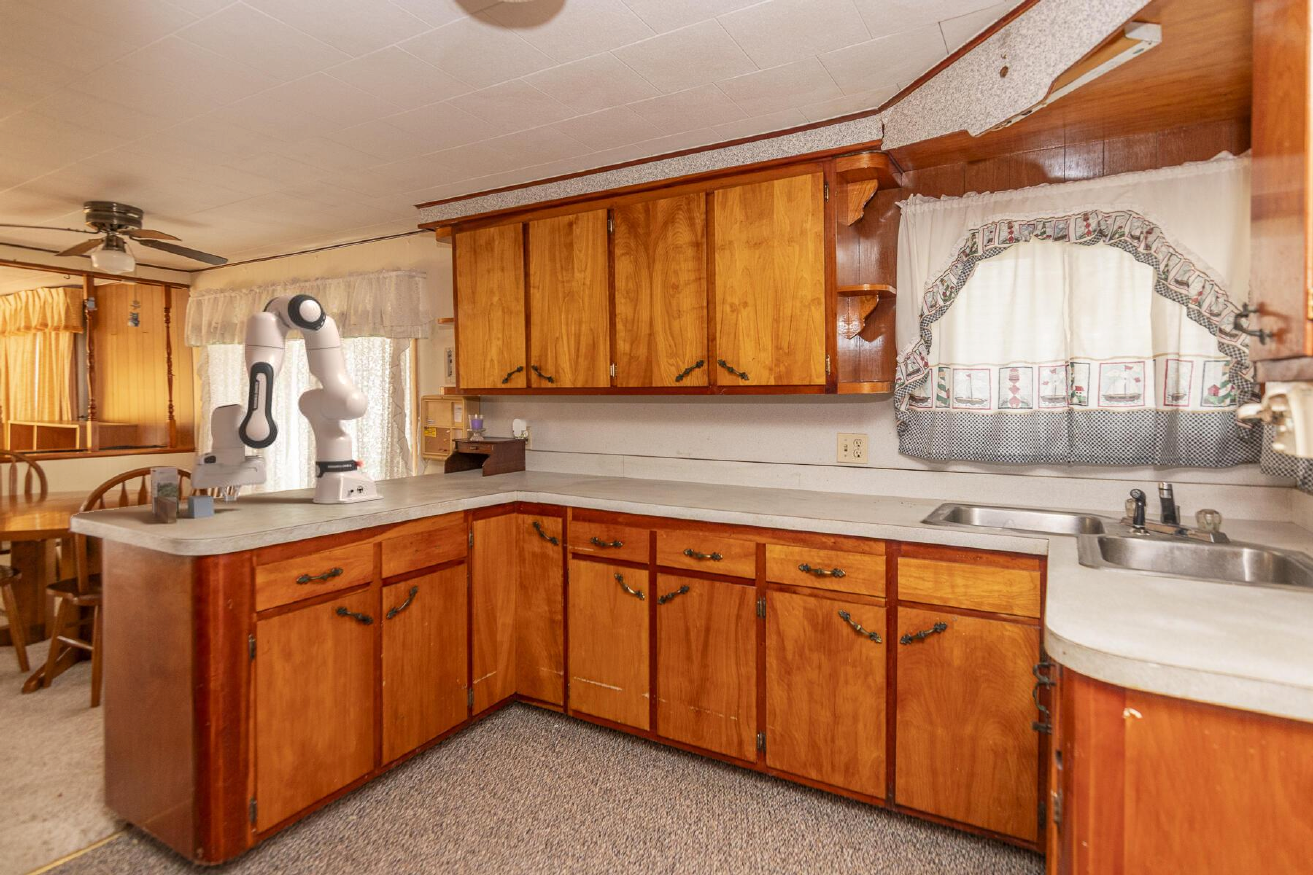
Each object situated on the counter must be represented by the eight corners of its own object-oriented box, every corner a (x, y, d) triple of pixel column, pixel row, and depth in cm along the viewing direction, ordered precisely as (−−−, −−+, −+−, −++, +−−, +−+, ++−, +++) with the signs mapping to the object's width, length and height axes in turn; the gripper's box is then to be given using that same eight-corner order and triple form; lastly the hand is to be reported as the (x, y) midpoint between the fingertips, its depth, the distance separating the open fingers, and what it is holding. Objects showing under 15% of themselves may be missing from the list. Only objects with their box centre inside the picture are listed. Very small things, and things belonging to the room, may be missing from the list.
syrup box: (173, 511, 217) (171, 465, 216) (179, 513, 213) (177, 466, 212) (151, 513, 212) (149, 466, 211) (157, 515, 209) (155, 468, 208)
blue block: (207, 513, 212) (206, 494, 211) (214, 516, 207) (213, 496, 207) (188, 516, 208) (187, 496, 208) (194, 518, 203) (193, 498, 203)
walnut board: (162, 516, 207) (161, 496, 207) (176, 522, 196) (175, 502, 196) (154, 517, 206) (153, 497, 205) (168, 523, 195) (167, 502, 194)
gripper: (262, 454, 222) (263, 496, 223) (187, 458, 207) (189, 503, 208) (269, 455, 218) (270, 498, 219) (193, 459, 203) (195, 505, 203)
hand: (230, 500), depth 213 cm, fingers closed
